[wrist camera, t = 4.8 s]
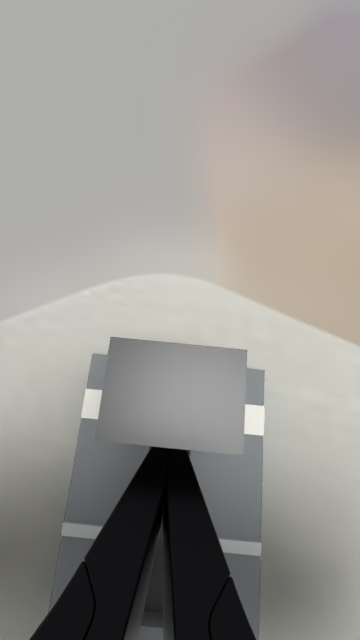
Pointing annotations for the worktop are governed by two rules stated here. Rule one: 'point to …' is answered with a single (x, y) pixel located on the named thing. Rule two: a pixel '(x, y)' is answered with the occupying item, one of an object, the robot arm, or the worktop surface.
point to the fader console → (216, 485)
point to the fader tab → (173, 396)
